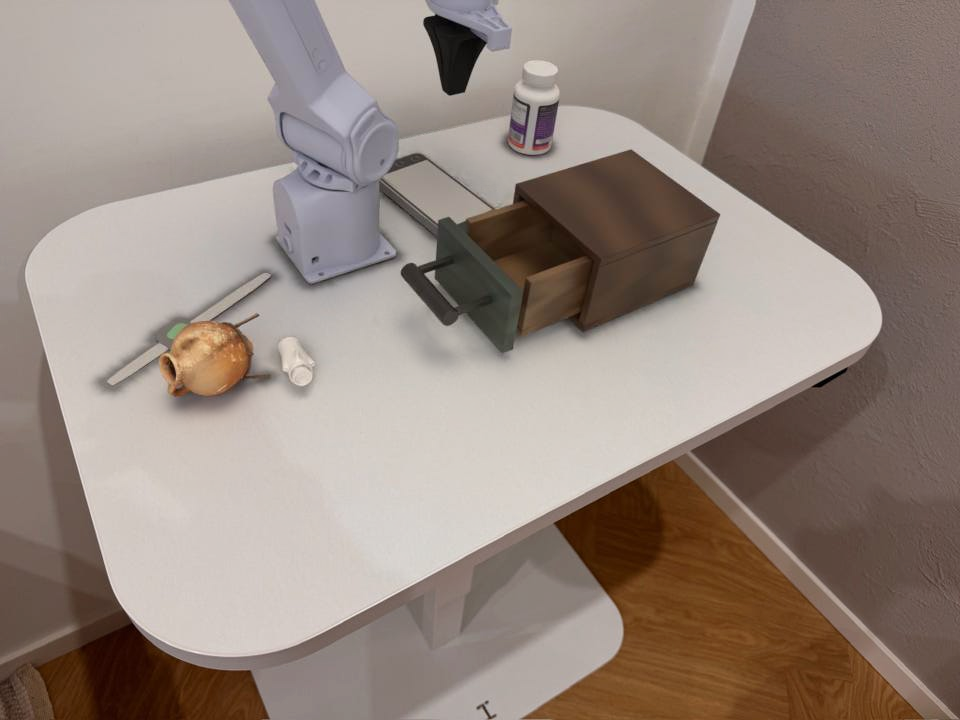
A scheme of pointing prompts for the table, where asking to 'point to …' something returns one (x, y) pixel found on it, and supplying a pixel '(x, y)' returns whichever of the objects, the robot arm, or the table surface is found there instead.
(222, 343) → the pot
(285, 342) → the small white plastic part
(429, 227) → the smartphone
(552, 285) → the rack drawer
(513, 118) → the pill bottle
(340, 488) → the table surface
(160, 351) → the strap with green oval
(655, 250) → the cabinet
